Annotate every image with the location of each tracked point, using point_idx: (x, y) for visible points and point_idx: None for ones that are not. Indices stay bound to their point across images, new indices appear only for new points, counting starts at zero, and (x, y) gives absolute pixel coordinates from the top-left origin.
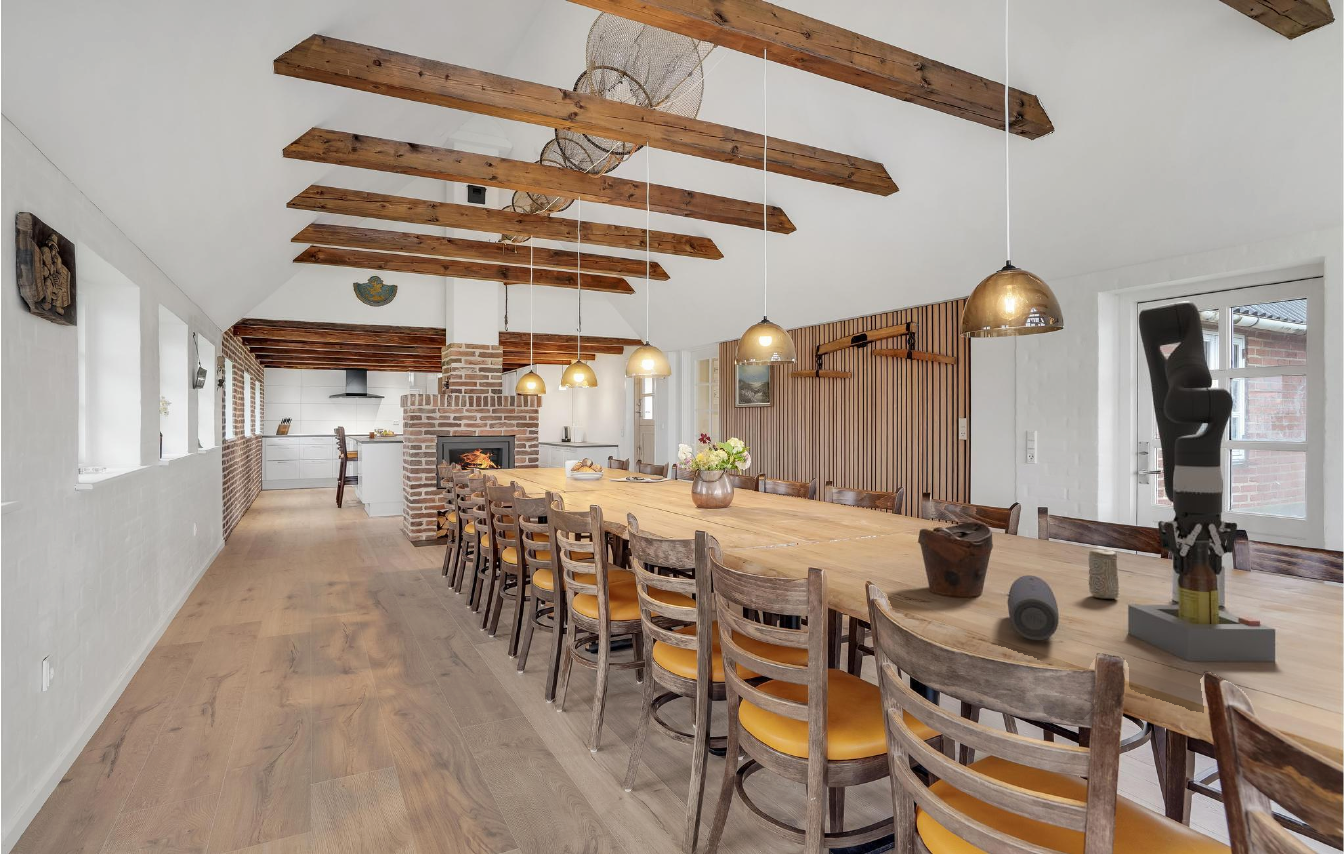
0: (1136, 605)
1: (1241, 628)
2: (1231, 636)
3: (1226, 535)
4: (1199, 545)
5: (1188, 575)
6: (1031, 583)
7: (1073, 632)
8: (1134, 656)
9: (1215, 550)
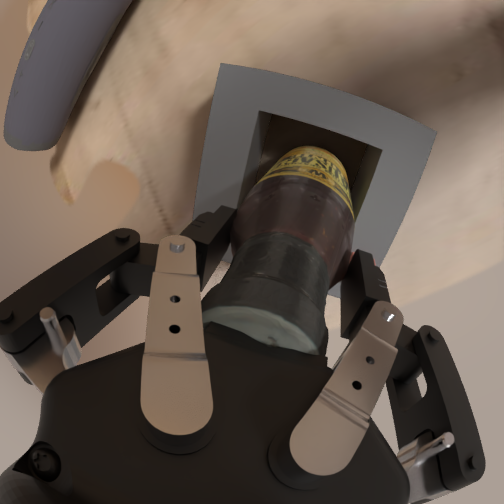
0: (238, 71)
1: None
2: None
3: (406, 430)
4: None
5: (231, 249)
6: (30, 46)
7: (143, 57)
8: (149, 183)
9: (340, 356)
